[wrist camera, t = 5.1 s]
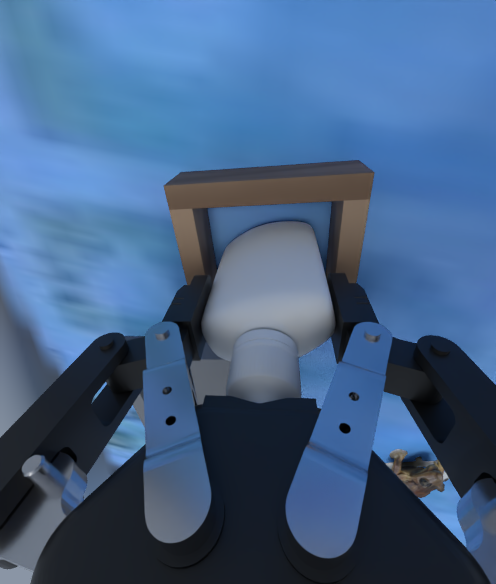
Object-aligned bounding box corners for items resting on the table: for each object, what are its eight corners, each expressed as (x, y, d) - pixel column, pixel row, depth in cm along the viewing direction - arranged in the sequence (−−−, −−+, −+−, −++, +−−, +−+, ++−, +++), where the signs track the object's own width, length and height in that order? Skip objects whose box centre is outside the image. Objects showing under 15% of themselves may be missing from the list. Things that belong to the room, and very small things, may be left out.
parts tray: (123, 336, 24) (109, 358, 22) (260, 336, 23) (259, 360, 21) (158, 415, 31) (150, 438, 29) (266, 419, 30) (266, 443, 28)
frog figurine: (375, 431, 30) (387, 470, 27) (479, 453, 31) (501, 493, 28) (334, 476, 37) (339, 511, 34) (419, 493, 37) (432, 529, 34)
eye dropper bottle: (304, 285, 19) (333, 489, 9) (222, 269, 19) (162, 460, 9) (325, 224, 16) (395, 417, 7) (230, 206, 16) (159, 375, 6)
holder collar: (180, 172, 16) (163, 185, 14) (358, 160, 15) (374, 172, 13) (207, 307, 22) (199, 334, 19) (339, 306, 21) (347, 334, 18)
